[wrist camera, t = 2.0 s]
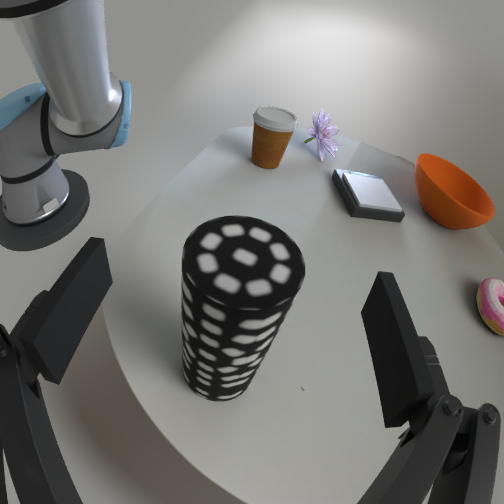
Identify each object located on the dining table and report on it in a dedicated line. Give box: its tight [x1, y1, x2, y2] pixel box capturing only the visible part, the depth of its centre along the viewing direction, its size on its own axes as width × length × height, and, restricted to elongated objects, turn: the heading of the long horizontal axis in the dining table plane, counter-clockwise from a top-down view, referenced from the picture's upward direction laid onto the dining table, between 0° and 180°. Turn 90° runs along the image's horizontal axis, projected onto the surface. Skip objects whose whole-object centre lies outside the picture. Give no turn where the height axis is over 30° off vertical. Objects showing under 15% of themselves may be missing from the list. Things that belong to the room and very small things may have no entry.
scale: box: [332, 169, 405, 222], centre depth 66 cm, size 14×13×3 cm
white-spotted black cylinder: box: [182, 216, 305, 401], centre depth 28 cm, size 8×8×20 cm
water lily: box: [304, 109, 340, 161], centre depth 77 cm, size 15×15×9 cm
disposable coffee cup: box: [252, 106, 298, 169], centre depth 65 cm, size 10×10×12 cm
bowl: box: [415, 154, 495, 230], centre depth 68 cm, size 25×25×10 cm
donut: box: [476, 278, 504, 336], centre depth 48 cm, size 14×13×5 cm
